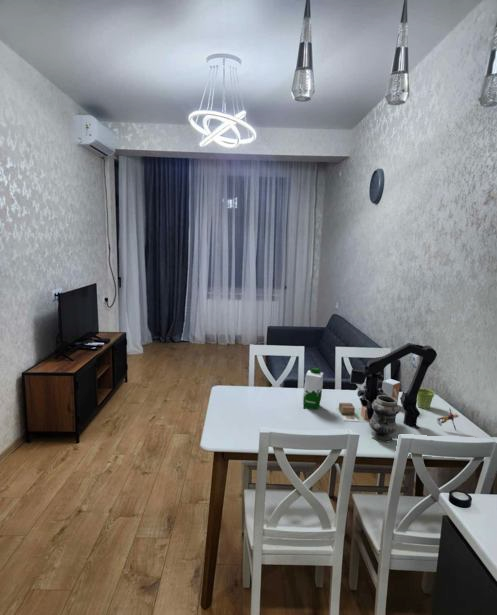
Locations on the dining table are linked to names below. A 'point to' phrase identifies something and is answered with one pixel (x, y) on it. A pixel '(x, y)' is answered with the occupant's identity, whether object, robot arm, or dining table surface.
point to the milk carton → (313, 389)
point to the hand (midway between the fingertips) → (367, 416)
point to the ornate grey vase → (384, 418)
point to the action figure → (447, 418)
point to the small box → (391, 388)
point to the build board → (354, 418)
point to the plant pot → (424, 398)
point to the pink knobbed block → (364, 413)
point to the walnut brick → (346, 409)
